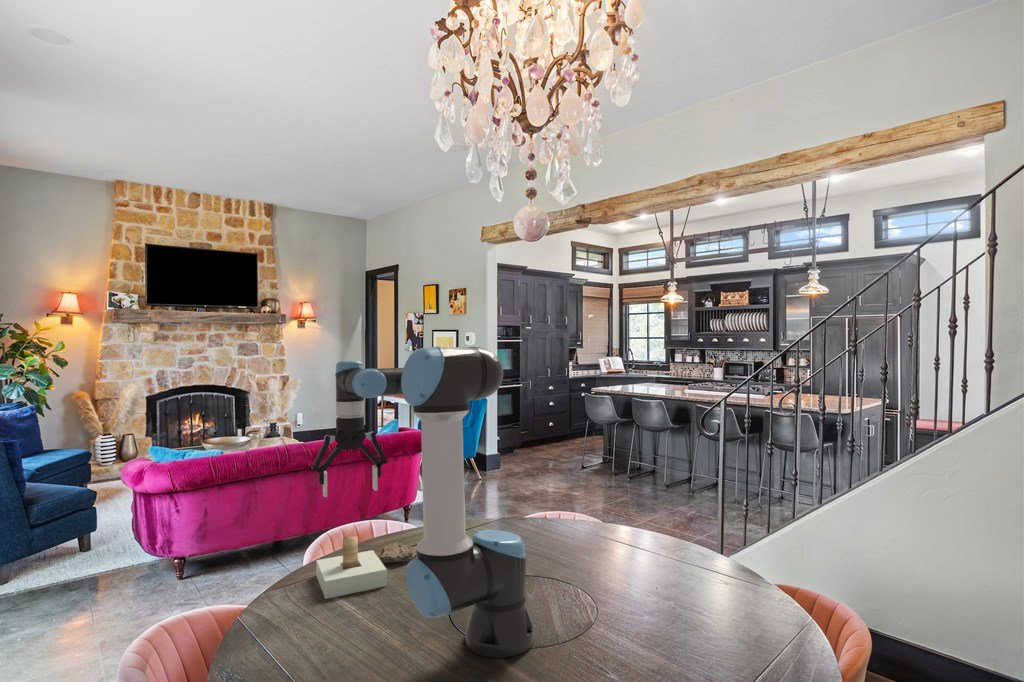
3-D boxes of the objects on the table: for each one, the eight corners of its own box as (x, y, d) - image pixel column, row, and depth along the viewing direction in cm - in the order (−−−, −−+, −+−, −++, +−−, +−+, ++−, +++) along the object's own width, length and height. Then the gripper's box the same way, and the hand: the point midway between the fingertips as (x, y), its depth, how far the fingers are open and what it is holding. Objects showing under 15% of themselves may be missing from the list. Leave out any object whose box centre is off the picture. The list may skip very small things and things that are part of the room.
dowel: (359, 582, 151) (359, 538, 151) (344, 585, 149) (344, 541, 149) (356, 576, 154) (356, 534, 154) (341, 579, 152) (341, 536, 152)
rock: (412, 567, 161) (412, 552, 161) (375, 567, 161) (375, 552, 161) (420, 554, 171) (420, 540, 172) (385, 554, 172) (385, 540, 172)
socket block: (386, 585, 148) (386, 569, 148) (325, 598, 141) (325, 581, 141) (372, 565, 162) (372, 550, 162) (316, 576, 155) (316, 560, 155)
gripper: (390, 412, 161) (391, 484, 161) (300, 417, 150) (301, 495, 149) (397, 414, 154) (398, 489, 154) (304, 420, 143) (304, 502, 143)
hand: (350, 492), depth 152 cm, fingers open, 13 cm apart
